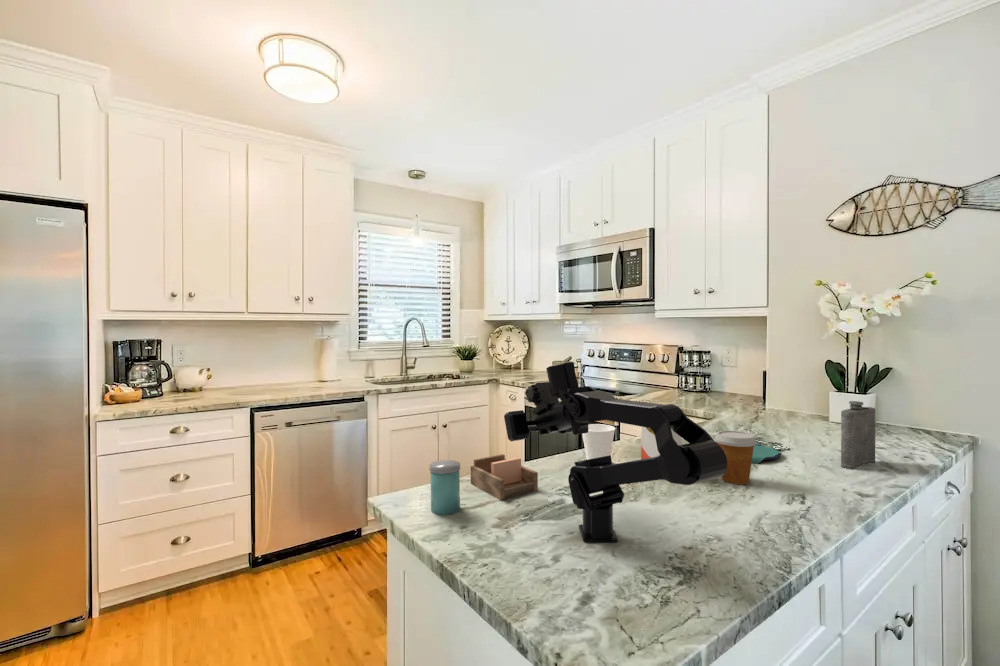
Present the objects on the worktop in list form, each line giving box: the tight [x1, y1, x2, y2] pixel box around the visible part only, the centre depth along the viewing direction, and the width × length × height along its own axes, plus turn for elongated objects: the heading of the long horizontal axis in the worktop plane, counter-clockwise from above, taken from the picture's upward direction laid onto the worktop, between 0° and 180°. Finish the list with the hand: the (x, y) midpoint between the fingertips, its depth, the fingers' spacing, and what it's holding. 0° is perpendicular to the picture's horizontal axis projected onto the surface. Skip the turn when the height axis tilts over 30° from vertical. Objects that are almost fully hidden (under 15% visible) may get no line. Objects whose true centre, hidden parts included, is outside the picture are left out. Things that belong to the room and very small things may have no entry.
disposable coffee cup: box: [714, 430, 757, 485], centre depth 122 cm, size 10×10×12 cm
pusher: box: [491, 457, 522, 485], centre depth 118 cm, size 1×8×6 cm, turn 123°
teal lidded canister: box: [429, 459, 461, 516], centre depth 105 cm, size 7×7×10 cm
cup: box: [581, 423, 616, 460], centre depth 136 cm, size 10×10×11 cm
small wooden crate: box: [470, 453, 539, 501], centre depth 119 cm, size 14×11×6 cm
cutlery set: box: [715, 437, 791, 464], centre depth 149 cm, size 20×30×2 cm, turn 125°
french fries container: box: [640, 427, 683, 459], centre depth 129 cm, size 5×11×18 cm, turn 28°
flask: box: [840, 400, 876, 470], centre depth 134 cm, size 4×14×18 cm, turn 117°
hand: (525, 428), depth 113 cm, fingers open, 9 cm apart
